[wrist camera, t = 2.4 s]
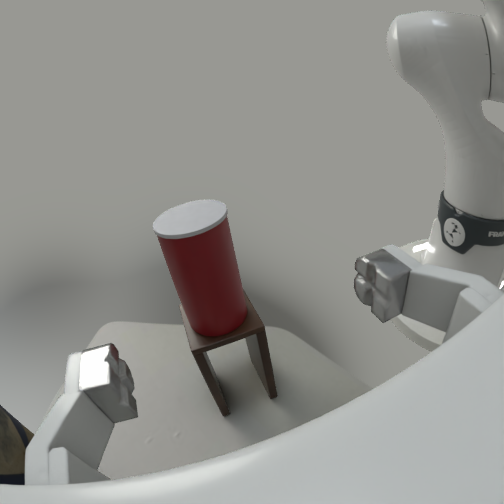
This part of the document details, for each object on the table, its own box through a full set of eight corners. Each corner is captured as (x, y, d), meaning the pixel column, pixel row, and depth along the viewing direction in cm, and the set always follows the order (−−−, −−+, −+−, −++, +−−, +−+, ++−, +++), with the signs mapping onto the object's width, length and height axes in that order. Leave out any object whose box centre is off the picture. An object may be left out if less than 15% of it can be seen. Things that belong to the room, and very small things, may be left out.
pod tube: (237, 287, 28) (215, 193, 23) (258, 323, 24) (236, 218, 19) (183, 306, 27) (150, 213, 22) (195, 346, 23) (155, 243, 18)
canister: (115, 547, 15) (-45, 479, 6) (42, 539, 14) (-100, 458, 4) (105, 466, 23) (-14, 357, 14) (41, 468, 22) (-72, 368, 12)
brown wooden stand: (257, 357, 34) (240, 284, 29) (277, 396, 29) (264, 325, 24) (208, 374, 33) (178, 304, 27) (223, 416, 28) (191, 351, 22)
